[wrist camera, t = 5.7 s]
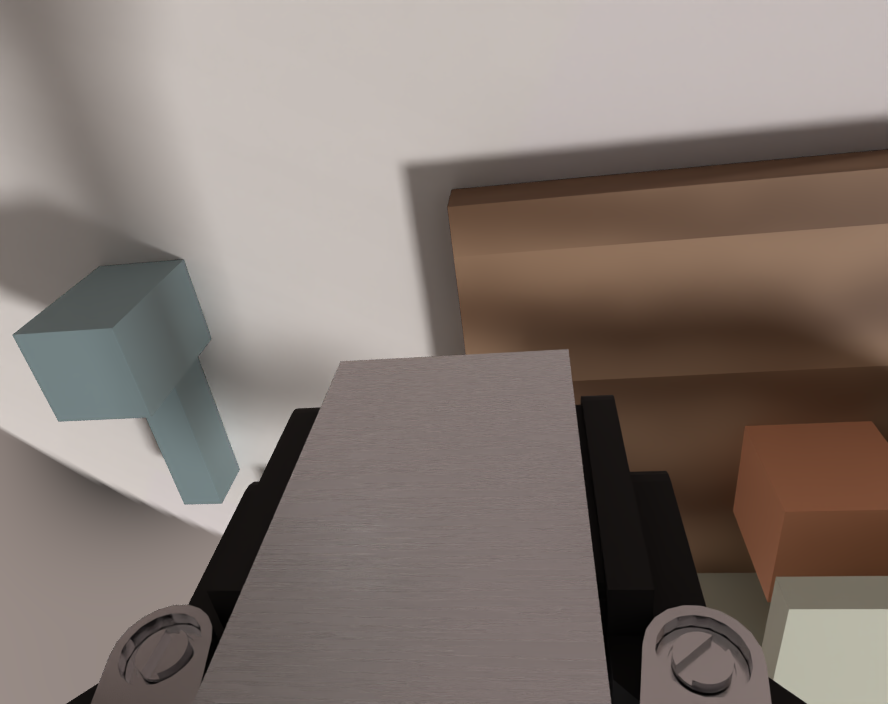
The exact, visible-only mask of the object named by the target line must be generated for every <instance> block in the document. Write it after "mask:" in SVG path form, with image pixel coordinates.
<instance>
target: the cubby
mask: <svg viewBox="0 0 888 704" xmlns="http://www.w3.org/2000/svg"><path fill="white" fill-rule="evenodd" d="M697 575H698V579H699V582H700V586H701V589H702V593H703V596H704V600H705V604H706V607H708V608H711V609H715V610H719V611H721V612H723V613H725V614H727V615H728V616H730V617H732V618H734V619H736V620H737V621H738V622H740V623H741V624H742V625H743V626H744V627H745V628H746V629H748V630H749V631H750V632H751V633H752V635H753V636H754V638H755V639H756V640H757V642H758V643H759V645H760V646H761V648H762V651H763V654H764V657H765V661H766V664H767V671H768V677H769V678H771V679H772V680H774V681H775V682H777V683H778V684H779V685H781V686H782V687H784V688H785V689H787V690H788V691H790V692H791V693H792V694H794V695H795V696H797V697H798V698H800V699H801V700H803V701H804V702H805V703H807V704H888V576H809V577H776V579H775V584H774V589H773V594H772V599H771V602H767V600H766V597H765V594H764V592H763V589H762V587H761V584H760V581H759V579H758V576H757V573H697Z"/></svg>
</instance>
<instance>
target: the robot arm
mask: <svg viewBox="0 0 888 704" xmlns="http://www.w3.org/2000/svg"><path fill="white" fill-rule="evenodd" d="M575 408H576V416H577V424H578V432H579V441H580V449H581V457H582V465H583V474H584V482H585V490H586V499H587V507H588V515H589V523H590V532H591V540H592V548H593V556H594V565H595V573H596V581H597V589H598V598H599V606H600V614H601V623H602V631H603V639H604V647H605V656H606V664H607V672H608V680H609V689H610V697H611V704H807V703H805V702H804V701H803V700H801V699H800V698H798V697H797V696H795V695H794V694H792V693H791V692H790V691H788V690H787V689H785V688H784V687H782V686H781V685H779V684H778V683H777V682H775V681H774V680H772V679H771V678H769V677H768V671H767V664H766V661H765V657H764V654H763V651H762V648H761V646H760V645H759V643H758V642H757V640H756V639H755V638H754V636H753V635H752V633H751V632H750V631H749V630H748V629H746V628H745V627H744V626H743V625H742V624H741V623H740V622H738V621H737V620H736V619H734V618H732V617H730V616H728V615H727V614H725V613H723V612H721V611H719V610H715V609H711V608H708V607H706V604H705V600H704V596H703V593H702V589H701V586H700V582H699V579H698V575H697V572H696V568H695V564H694V561H693V557H692V554H691V550H690V547H689V543H688V540H687V536H686V532H685V529H684V525H683V522H682V518H681V515H680V511H679V508H678V504H677V501H676V497H675V493H674V490H673V486H672V483H671V480H670V477H669V474H668V473H667V471H637V472H630V470H629V465H628V461H627V456H626V451H625V446H624V441H623V437H622V432H621V427H620V422H619V417H618V413H617V408H616V403H615V398H614V396H613V395H597V396H581V405H575ZM319 410H320V408H299V409H295V410H294V411H293V413H292V415H291V417H290V419H289V421H288V423H287V425H286V427H285V429H284V431H283V433H282V435H281V437H280V439H279V442H278V444H277V446H276V448H275V450H274V452H273V454H272V456H271V458H270V460H269V462H268V464H267V466H266V468H265V470H264V473H263V475H262V477H261V479H260V481H259V482H253V483H252V484H250V485H249V486H248V488H247V489H246V491H245V492H244V494H243V496H242V498H241V500H240V502H239V504H238V506H237V508H236V510H235V512H234V514H233V516H232V518H231V520H230V522H229V524H228V526H227V528H226V530H225V532H224V534H223V536H222V538H221V540H220V542H219V544H218V546H217V548H216V550H215V552H214V554H213V556H212V558H211V560H210V562H209V564H208V566H207V568H206V570H205V572H204V574H203V576H202V578H201V580H200V582H199V584H198V586H197V588H196V590H195V592H194V595H193V596H192V598H191V601H190V602H189V604H188V605H172V606H168V607H165V608H162V609H158V610H156V611H154V612H152V613H150V614H148V615H146V616H144V617H143V618H141V619H140V620H138V621H137V622H136V623H135V624H133V625H132V626H131V627H129V628H128V629H127V631H126V632H125V633H124V634H123V635H122V636H121V637H120V639H119V640H118V641H117V642H116V644H115V646H114V648H113V650H112V651H111V653H110V655H109V658H108V660H107V663H106V665H105V668H104V670H103V673H102V676H101V678H100V681H99V683H98V684H97V685H95V686H93V687H92V688H90V689H89V690H87V691H86V692H84V693H83V694H81V695H79V696H78V697H76V698H75V699H73V700H71V701H70V702H68V703H67V704H193V702H194V700H195V697H196V695H197V693H198V690H199V688H200V686H201V683H202V681H203V679H204V677H205V674H206V672H207V670H208V667H209V665H210V663H211V660H212V658H213V656H214V653H215V651H216V649H217V646H218V644H219V642H220V639H221V637H222V635H223V633H224V630H225V628H226V626H227V623H228V621H229V619H230V616H231V614H232V612H233V609H234V607H235V605H236V602H237V600H238V598H239V595H240V593H241V591H242V589H243V586H244V584H245V582H246V579H247V577H248V575H249V572H250V570H251V568H252V565H253V563H254V561H255V558H256V556H257V554H258V551H259V549H260V547H261V544H262V542H263V540H264V538H265V535H266V533H267V531H268V528H269V526H270V524H271V521H272V519H273V517H274V514H275V512H276V510H277V507H278V505H279V503H280V500H281V498H282V496H283V494H284V491H285V489H286V487H287V484H288V482H289V480H290V477H291V475H292V473H293V470H294V468H295V466H296V463H297V461H298V459H299V456H300V454H301V452H302V450H303V447H304V445H305V443H306V440H307V438H308V436H309V433H310V431H311V429H312V426H313V424H314V422H315V419H316V417H317V415H318V412H319Z"/></svg>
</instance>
